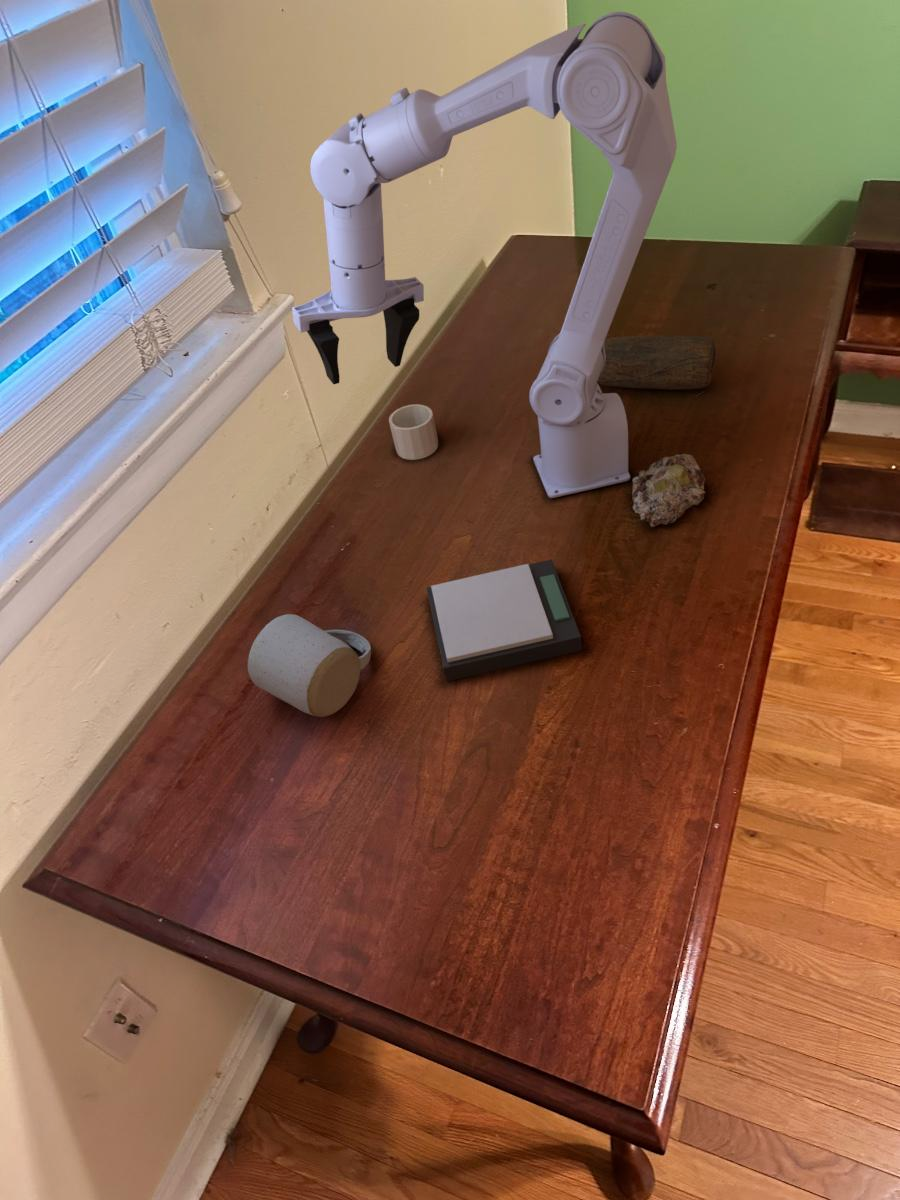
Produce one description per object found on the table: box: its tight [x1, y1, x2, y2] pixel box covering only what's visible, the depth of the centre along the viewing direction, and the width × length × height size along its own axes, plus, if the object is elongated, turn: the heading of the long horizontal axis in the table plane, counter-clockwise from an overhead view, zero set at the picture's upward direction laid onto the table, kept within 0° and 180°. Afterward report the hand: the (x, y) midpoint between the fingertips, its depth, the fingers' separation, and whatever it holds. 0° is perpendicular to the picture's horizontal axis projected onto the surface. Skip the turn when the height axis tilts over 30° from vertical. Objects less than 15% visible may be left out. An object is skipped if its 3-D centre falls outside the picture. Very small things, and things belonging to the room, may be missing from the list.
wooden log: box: [597, 335, 717, 391], centre depth 106 cm, size 15×7×7 cm, turn 75°
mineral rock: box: [631, 453, 707, 528], centre depth 92 cm, size 11×4×8 cm
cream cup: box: [388, 403, 439, 461], centre depth 105 cm, size 5×5×4 cm
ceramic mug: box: [247, 613, 372, 718], centre depth 79 cm, size 11×8×8 cm
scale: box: [426, 559, 583, 682], centre depth 83 cm, size 13×11×3 cm
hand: (363, 370), depth 97 cm, fingers open, 7 cm apart
